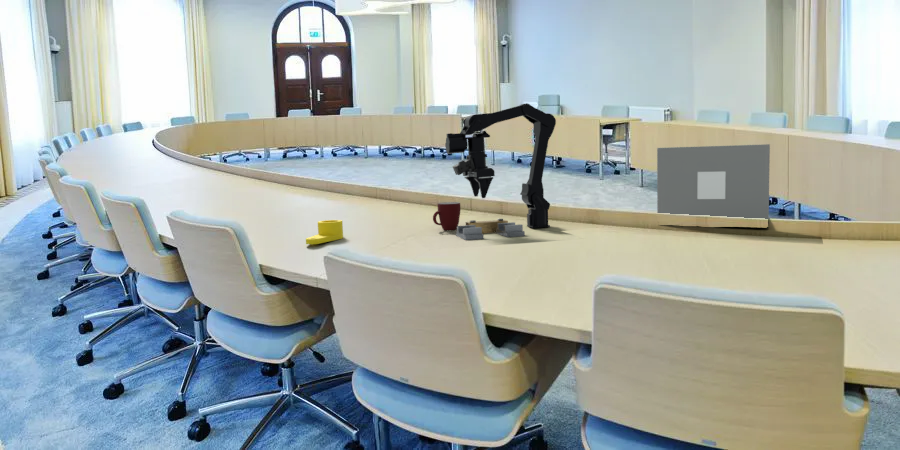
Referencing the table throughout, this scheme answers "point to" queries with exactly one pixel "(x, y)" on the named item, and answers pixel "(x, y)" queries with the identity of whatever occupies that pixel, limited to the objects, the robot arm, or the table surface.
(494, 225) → the link
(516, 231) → the pair of grey blocks
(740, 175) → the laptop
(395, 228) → the table surface
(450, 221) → the mug
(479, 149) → the robot arm
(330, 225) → the crank
